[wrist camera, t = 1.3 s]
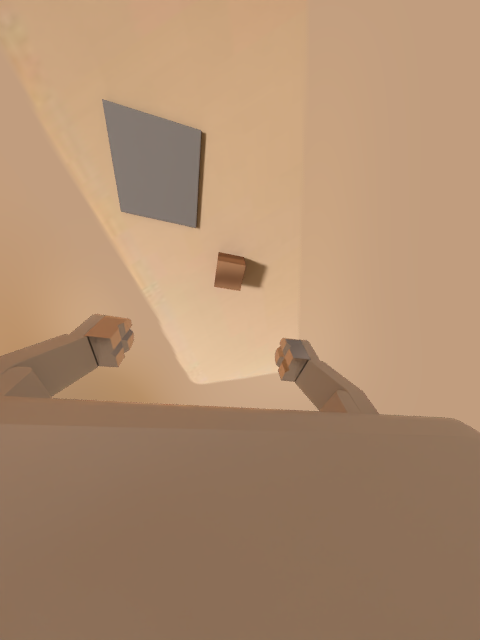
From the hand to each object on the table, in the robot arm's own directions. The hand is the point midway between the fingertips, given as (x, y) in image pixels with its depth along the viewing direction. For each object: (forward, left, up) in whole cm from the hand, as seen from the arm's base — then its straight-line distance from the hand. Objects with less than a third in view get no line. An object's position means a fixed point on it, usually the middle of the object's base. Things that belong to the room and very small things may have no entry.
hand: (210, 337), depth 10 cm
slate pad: (-6, -11, -28) cm, 30 cm away
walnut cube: (+6, +2, -28) cm, 29 cm away
